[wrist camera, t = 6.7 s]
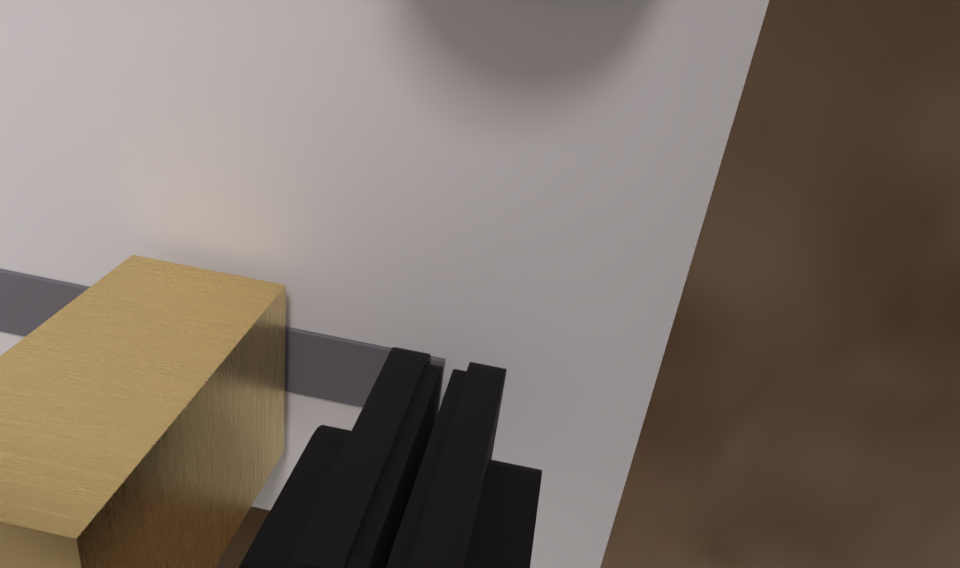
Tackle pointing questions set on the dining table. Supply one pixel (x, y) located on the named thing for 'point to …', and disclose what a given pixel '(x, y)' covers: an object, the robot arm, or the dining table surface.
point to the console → (391, 195)
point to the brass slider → (141, 420)
